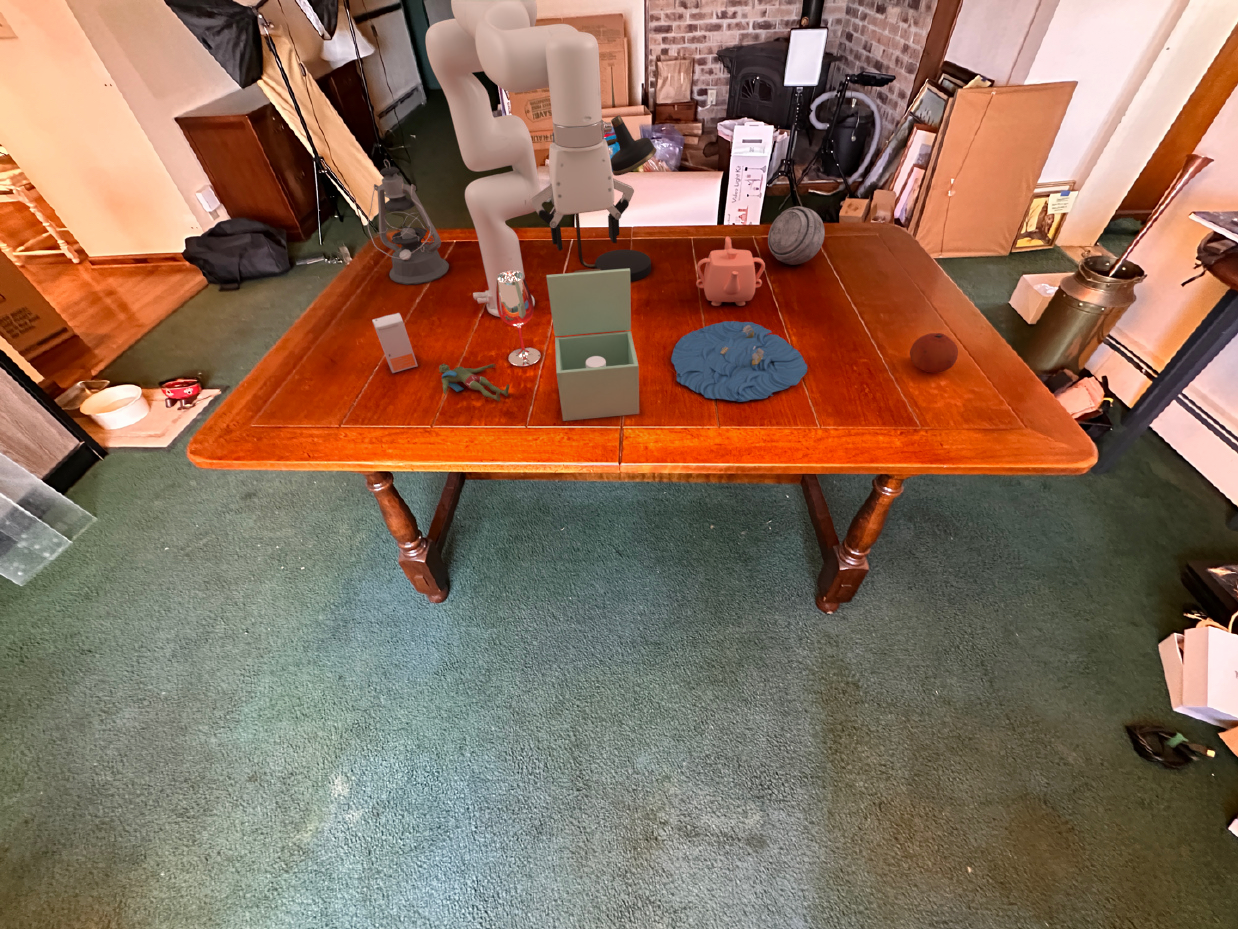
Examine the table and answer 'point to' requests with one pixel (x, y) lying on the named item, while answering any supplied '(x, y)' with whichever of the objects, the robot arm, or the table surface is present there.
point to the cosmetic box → (395, 342)
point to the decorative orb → (796, 235)
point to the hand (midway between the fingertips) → (586, 243)
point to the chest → (597, 376)
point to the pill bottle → (595, 362)
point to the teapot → (729, 275)
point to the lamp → (622, 163)
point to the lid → (590, 301)
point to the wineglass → (516, 312)
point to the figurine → (469, 380)
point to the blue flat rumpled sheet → (736, 362)
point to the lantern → (407, 234)
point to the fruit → (934, 352)
